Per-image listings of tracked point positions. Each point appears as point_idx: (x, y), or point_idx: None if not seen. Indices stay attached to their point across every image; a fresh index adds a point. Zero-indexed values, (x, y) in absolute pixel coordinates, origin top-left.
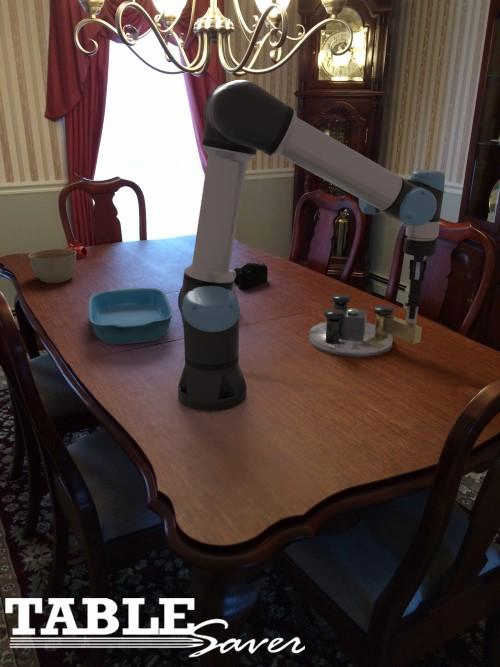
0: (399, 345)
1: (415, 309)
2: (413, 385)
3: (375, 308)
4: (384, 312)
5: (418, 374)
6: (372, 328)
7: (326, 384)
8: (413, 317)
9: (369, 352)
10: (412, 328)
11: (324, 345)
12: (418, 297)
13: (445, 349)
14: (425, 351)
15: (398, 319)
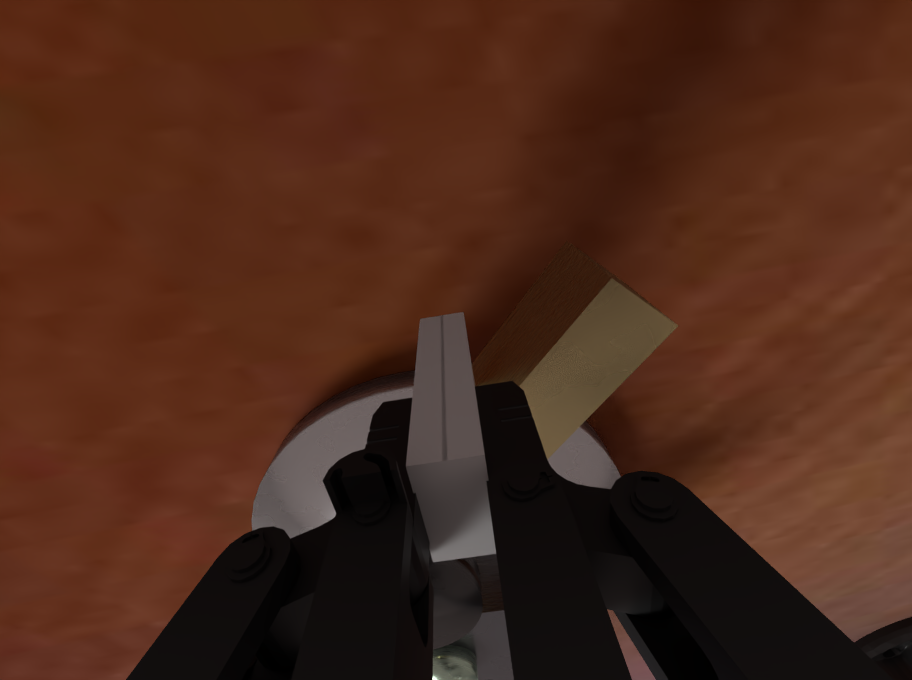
0: (384, 340)
1: (543, 455)
2: (904, 177)
3: (439, 642)
4: (479, 587)
5: (757, 176)
6: (315, 496)
7: (888, 479)
8: (525, 401)
9: (596, 438)
10: (651, 347)
11: None
12: (860, 668)
13: (288, 65)
14: (398, 194)
15: None
